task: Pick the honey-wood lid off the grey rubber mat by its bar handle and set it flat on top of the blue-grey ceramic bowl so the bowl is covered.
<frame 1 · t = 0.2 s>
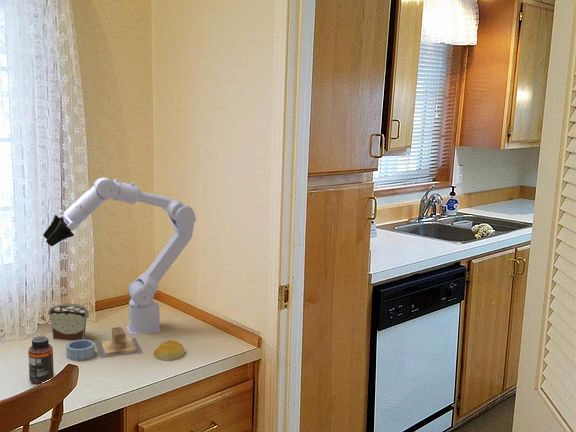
hand: (46, 240, 178), 31 cm above the table, tool tilted 45°, fingers open, 7 cm apart
supplement bottle: (41, 380, 159), on the table
mat: (118, 348, 181), on the table
food container: (72, 338, 188), on the table
bowl: (80, 356, 175), on the table
bread roll: (169, 356, 178), on the table
lid: (118, 347, 181), on the table, touching mat
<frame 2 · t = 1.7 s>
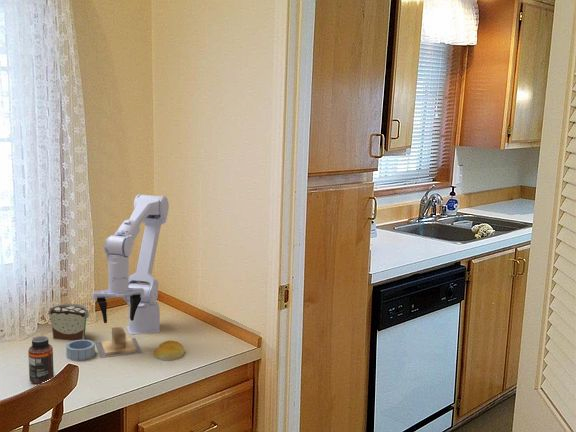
hand: (118, 320, 179), 9 cm above the table, tool pointing down, fingers open, 7 cm apart
nothing on the table moved.
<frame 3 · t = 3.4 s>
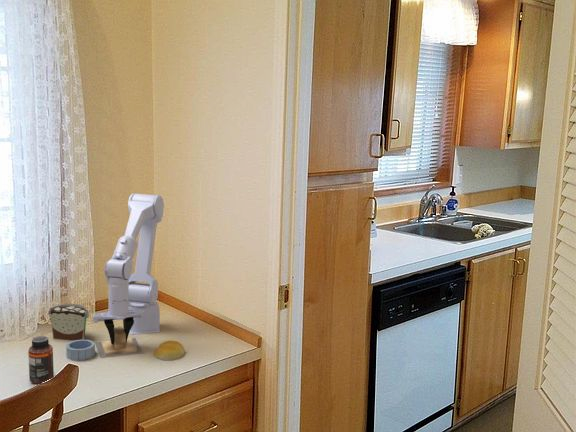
hand: (118, 342, 181), 2 cm above the table, tool pointing down, fingers closed on lid, 3 cm apart
lid: (118, 347, 181), on the table, touching gripper, mat
everything else where it was.
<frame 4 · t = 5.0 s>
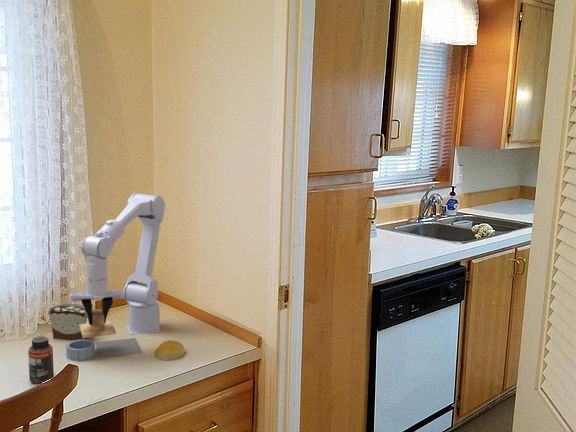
hand: (97, 323, 176), 9 cm above the table, tool pointing down, fingers closed on lid, 3 cm apart
lid: (97, 330, 176), point 7 cm above the table, touching gripper
everything else where it was.
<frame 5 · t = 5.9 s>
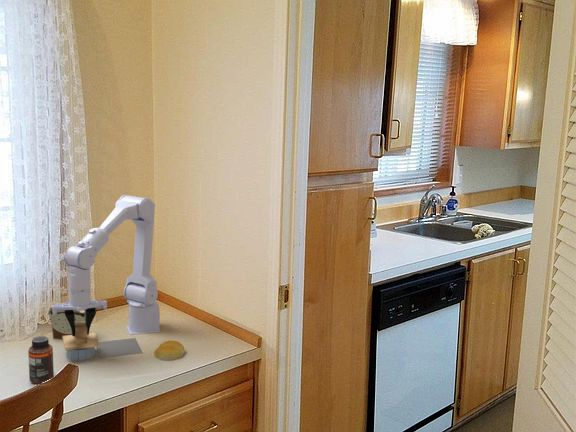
hand: (80, 334, 173), 7 cm above the table, tool pointing down, fingers closed on lid, 3 cm apart
lid: (80, 342, 174), point 4 cm above the table, touching gripper
everything else where it was.
when the fingers open (7 cm above the table, at t = 6.4 s): lid stays where it is, resting on bowl.
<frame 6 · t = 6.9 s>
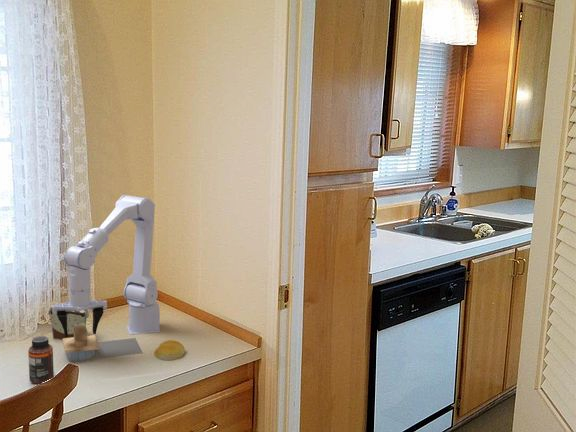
hand: (80, 334, 173), 7 cm above the table, tool pointing down, fingers open, 7 cm apart
lid: (80, 345, 174), point 3 cm above the table, touching bowl
everything else where it was.
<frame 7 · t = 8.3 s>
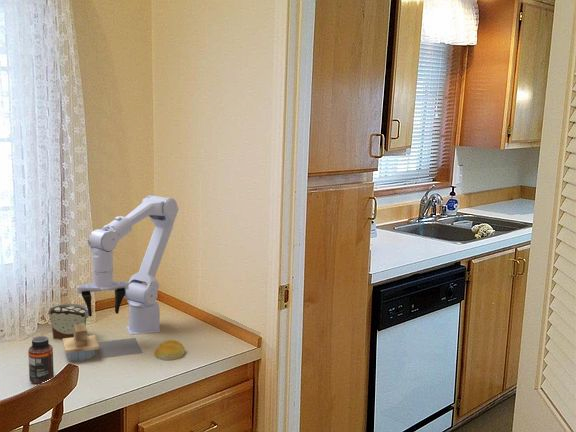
hand: (103, 313, 182), 10 cm above the table, tool pointing down, fingers open, 7 cm apart
nothing on the table moved.
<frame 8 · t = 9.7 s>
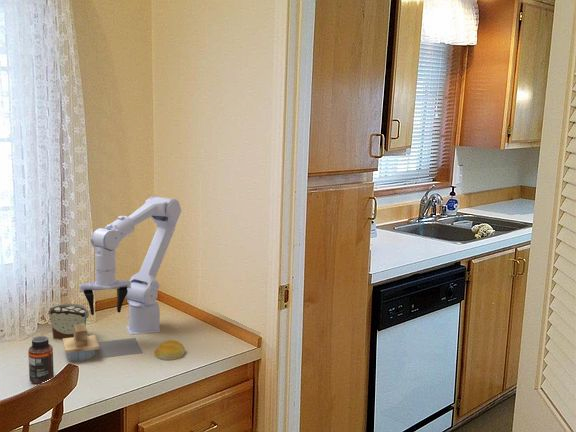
hand: (105, 312, 182), 10 cm above the table, tool pointing down, fingers open, 7 cm apart
nothing on the table moved.
at the end: lid 0.3 cm off-centre on the bowl, point 3.5 cm above the bowl's base; lid tilted 0°; the gripper is holding nothing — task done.
